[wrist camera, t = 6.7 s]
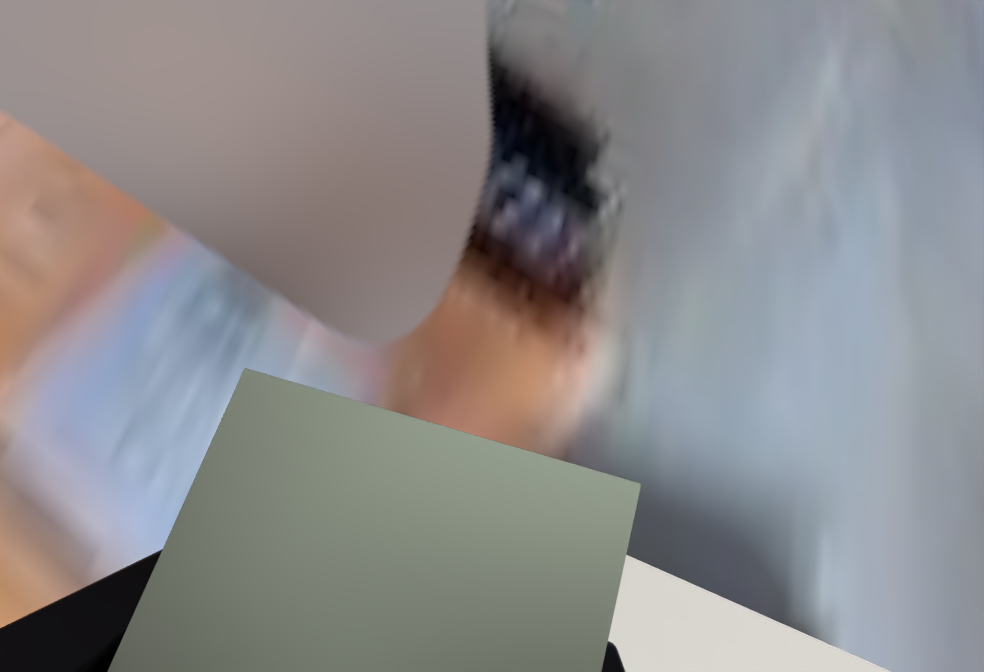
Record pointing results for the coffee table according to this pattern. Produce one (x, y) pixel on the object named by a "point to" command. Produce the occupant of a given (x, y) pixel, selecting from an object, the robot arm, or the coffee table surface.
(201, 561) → the sage block
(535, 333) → the coffee table surface
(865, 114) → the coffee table surface
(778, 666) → the tower top slab
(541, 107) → the coffee table surface
